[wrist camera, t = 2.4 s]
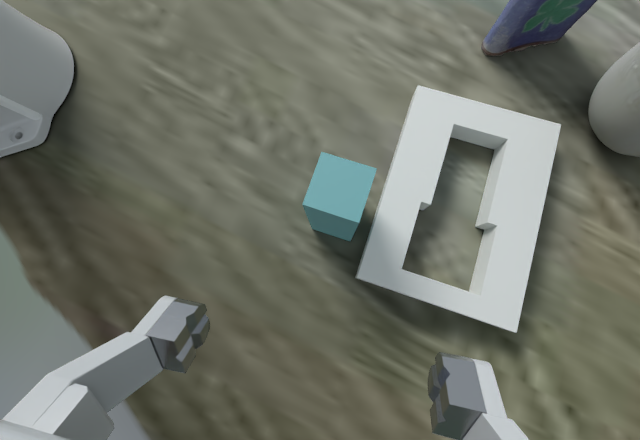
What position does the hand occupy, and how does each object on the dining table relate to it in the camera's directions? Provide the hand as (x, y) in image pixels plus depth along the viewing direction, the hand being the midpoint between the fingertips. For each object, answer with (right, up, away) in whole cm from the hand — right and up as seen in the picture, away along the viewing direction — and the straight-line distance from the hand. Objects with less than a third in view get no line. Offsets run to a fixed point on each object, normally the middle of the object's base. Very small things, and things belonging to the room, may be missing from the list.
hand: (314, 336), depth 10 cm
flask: (+22, +24, +23) cm, 40 cm away
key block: (+2, +4, +20) cm, 20 cm away
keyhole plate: (+13, +6, +20) cm, 24 cm away
